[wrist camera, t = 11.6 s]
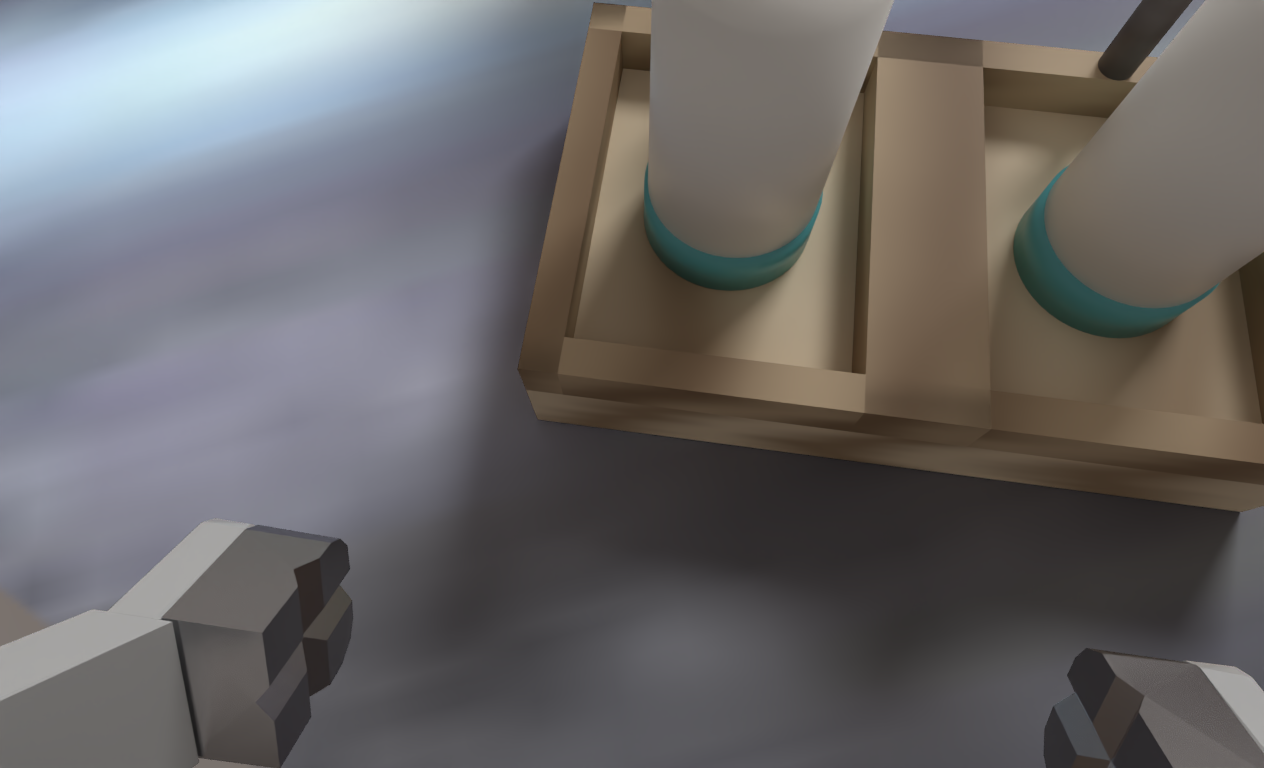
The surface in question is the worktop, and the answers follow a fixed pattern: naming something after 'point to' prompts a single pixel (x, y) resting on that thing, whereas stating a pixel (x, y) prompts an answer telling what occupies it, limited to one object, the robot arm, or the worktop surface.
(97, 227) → the worktop surface
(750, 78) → the white rounded cylinder
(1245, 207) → the sleeve
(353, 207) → the worktop surface
